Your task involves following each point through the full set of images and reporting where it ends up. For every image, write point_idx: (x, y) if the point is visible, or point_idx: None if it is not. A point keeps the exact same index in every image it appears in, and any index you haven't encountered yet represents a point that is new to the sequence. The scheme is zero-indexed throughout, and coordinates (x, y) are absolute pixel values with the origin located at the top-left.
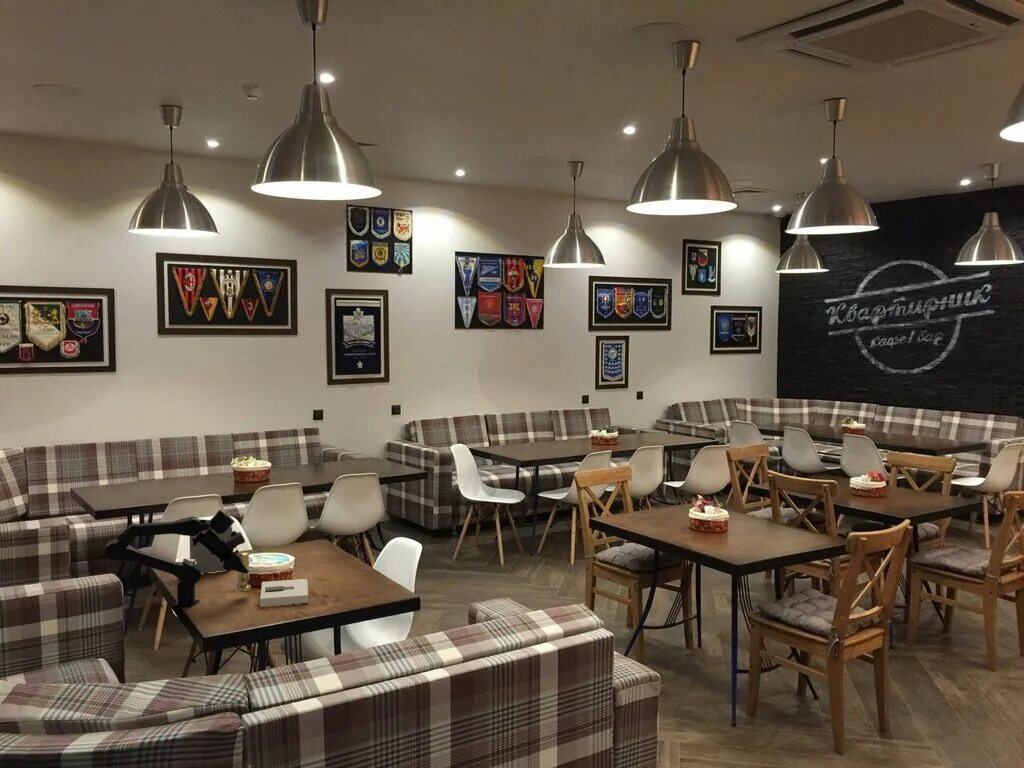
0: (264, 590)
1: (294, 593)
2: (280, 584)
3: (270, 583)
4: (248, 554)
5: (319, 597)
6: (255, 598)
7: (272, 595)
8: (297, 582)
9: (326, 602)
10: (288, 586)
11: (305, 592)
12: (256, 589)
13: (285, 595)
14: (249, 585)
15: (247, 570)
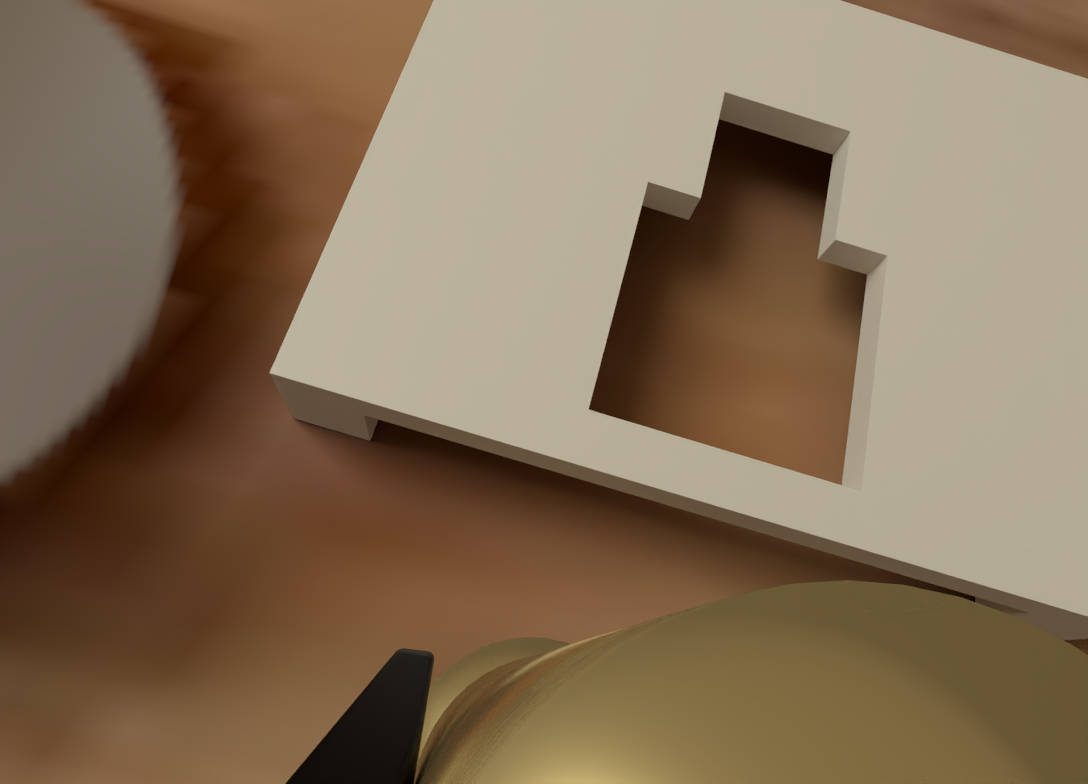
0: (756, 467)
1: (1030, 183)
2: (561, 195)
3: (432, 290)
4: (1054, 655)
5: (894, 16)
6: (637, 605)
7: (1040, 434)
8: (581, 11)
9: (1064, 26)
10: (707, 145)
11: (1029, 80)
12: (203, 481)
13: (1085, 293)
14: (524, 655)
15: None
